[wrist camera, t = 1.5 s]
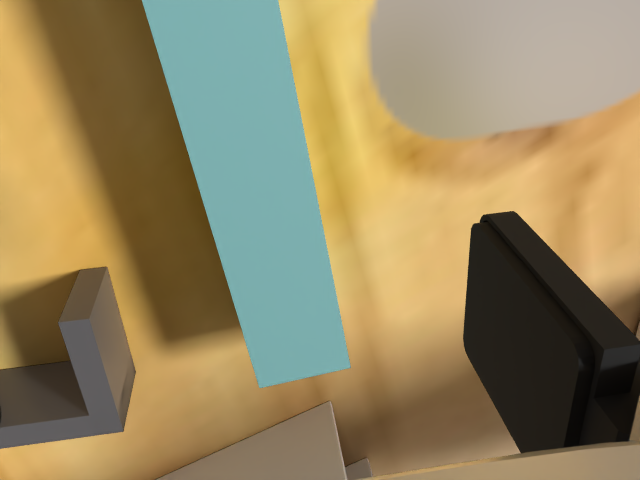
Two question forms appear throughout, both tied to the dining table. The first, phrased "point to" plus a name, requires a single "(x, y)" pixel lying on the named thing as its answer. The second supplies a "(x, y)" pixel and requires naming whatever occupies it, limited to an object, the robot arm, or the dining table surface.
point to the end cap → (73, 374)
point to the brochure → (282, 454)
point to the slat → (254, 178)
